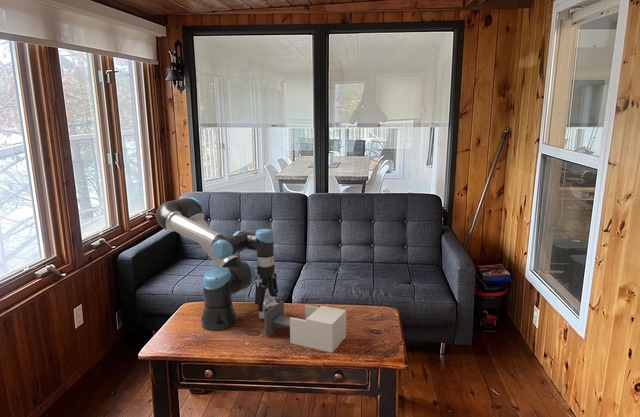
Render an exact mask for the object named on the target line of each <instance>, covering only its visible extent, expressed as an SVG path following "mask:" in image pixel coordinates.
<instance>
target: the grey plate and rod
mask: <svg viewBox="0 0 640 417" xmlns="http://www.w3.org/2000/svg"><path fill="white" fill-rule="evenodd" d="M291 317H292V316H286V315H285V302H284V300H280V301H279V302H277V303H276V305H275V306H274V307H272V308H271V309H269V310H268V311H267V312H265V321H264V336H265V337H268V336H270V335H271V334H272V333H273V332H275V331H276V330H277V329H278V328H279V327H281V326H287V327H290V318H291Z"/></svg>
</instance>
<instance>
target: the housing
mask: <svg viewBox="0 0 640 417" xmlns="http://www.w3.org/2000/svg"><path fill="white" fill-rule="evenodd" d="M304 312H305V314H304V318H305V319H302V318H297V317H292V316H290V317H291V318H290V326H289V336H290V337H289V339H290V340H289V341H290V344H293V345H296V346H300V347H305V348H311V349H314V350H317V351H323V352H327V353H332V354H333V353H334V352H335V350H336V349H337V348H339V346H340V344H342V342H343V341H344V340H345V339H346V337H347V309H342V308H337V307H331V306H326V305H320V306H319V307H318V306H314V305H309V304H306V305H305V306H304Z"/></svg>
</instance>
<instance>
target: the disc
mask: <svg viewBox="0 0 640 417" xmlns="http://www.w3.org/2000/svg"><path fill="white" fill-rule="evenodd" d="M263 304H265V310H269V309H271V308H272V307H274V306H275V305H276V304H277V301H276V298H275V299H271V298H269V297H267V298H266V297H265V298H264V303H263Z"/></svg>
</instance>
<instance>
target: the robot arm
mask: <svg viewBox="0 0 640 417" xmlns="http://www.w3.org/2000/svg"><path fill="white" fill-rule="evenodd" d="M155 212H156V213H155V218H156V221H157V223H158V224H159V226H160V227H162V228H163V229H164V230H167V231H168V232H176V233H177V234H179V235H182V236H183V237H185V238H188V239H189V240H191V241H193V242H196V243H197V244H199V245H200V247H202V249H203V250H204V251H205V252H206V254H207V255H208V257H210V259H211V260H212V262H214V263H215V265H216V267H214V268H211V269H209V270H207V271H206V272H205V273H204V274H203V277H202V279H203V280H202V287H203V288H202V289H203V299H204V309H203V313H202V316H201V327H202V328H203V329H206V330H208V331H209V330H210V331H222V330H227V329H230V328H232V327H234V326H235V325H236V324H237V322H238V315H237V313H236V311H235V308H234V306H233V305H234V304H233V295H235V294H237V293H238V292H241V291H242V290H245V289H247V288H249V287H250V286H252V285H253V284H255V292H254V293H255V294H254V304H255V305H257V308H258V309H257V311H258V318H259V319H261V318H263V319H265V304H263V303H264V299H265V298H266V292H267V290H268V293H269V296H268V298H271V299H275V300H276V297H278V294H279V288H278V281H277V280H278V279H277V273H275V265H274V264H275V251H274V250H275V244H274V243H275V238H274V232H273V230H272V229H270V228H259V229H257V230H255V232H252V231H246V230H238V231H235V232H234V233H233V235H232V236H225V235H224V234H222V233H219V232H217V231H216V230H213V229H212V228H211V226H210V225H209V224H208V223H207V222H206V220H205V214H204V213H205V212H204V206H203V204H202V203H201V201H200V200H199V199H197V198H196V197H191V196H190V197H183V198H180V199H179V198H178V199H174V200H169V201H165V202H162V203H161V204H160V205H159V206H158V208H157V209H156V211H155ZM246 250H249V251H250V250H252V251H255V252H256V265H257V266H256V269H255V267H254V266H253V264H252V263H251V262H250V261H246V260H242V259H241V257H239V256H237V255H235V254H238V253H241V252H244V251H246ZM256 272H257V274H258V275H259V280H258V281H255V280H256Z"/></svg>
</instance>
